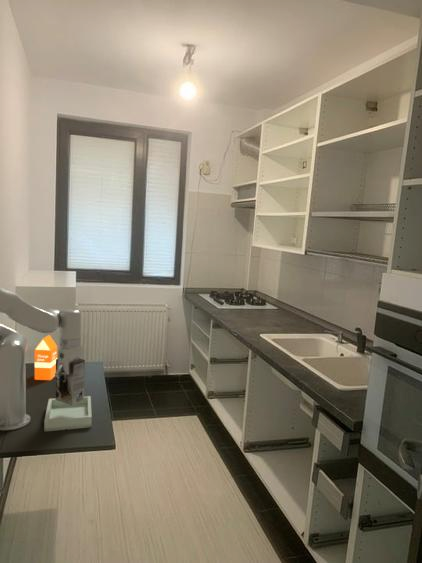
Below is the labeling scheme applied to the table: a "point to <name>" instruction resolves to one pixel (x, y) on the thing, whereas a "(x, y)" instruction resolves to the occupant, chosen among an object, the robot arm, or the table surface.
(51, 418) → the tray
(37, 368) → the orange juice
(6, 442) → the table surface
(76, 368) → the coffee box
